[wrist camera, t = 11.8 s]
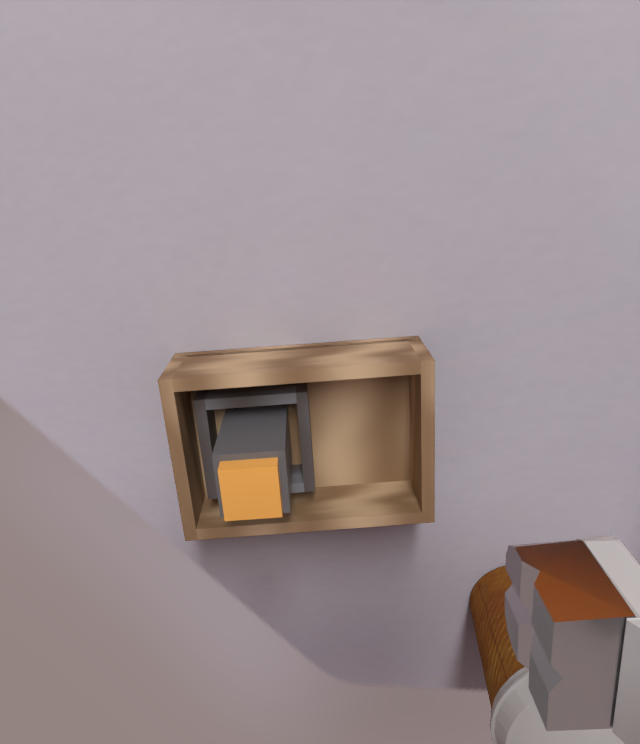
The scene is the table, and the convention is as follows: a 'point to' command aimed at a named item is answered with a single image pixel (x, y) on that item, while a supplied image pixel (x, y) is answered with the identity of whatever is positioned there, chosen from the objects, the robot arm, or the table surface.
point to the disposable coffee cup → (513, 675)
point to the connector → (253, 463)
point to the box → (311, 431)
